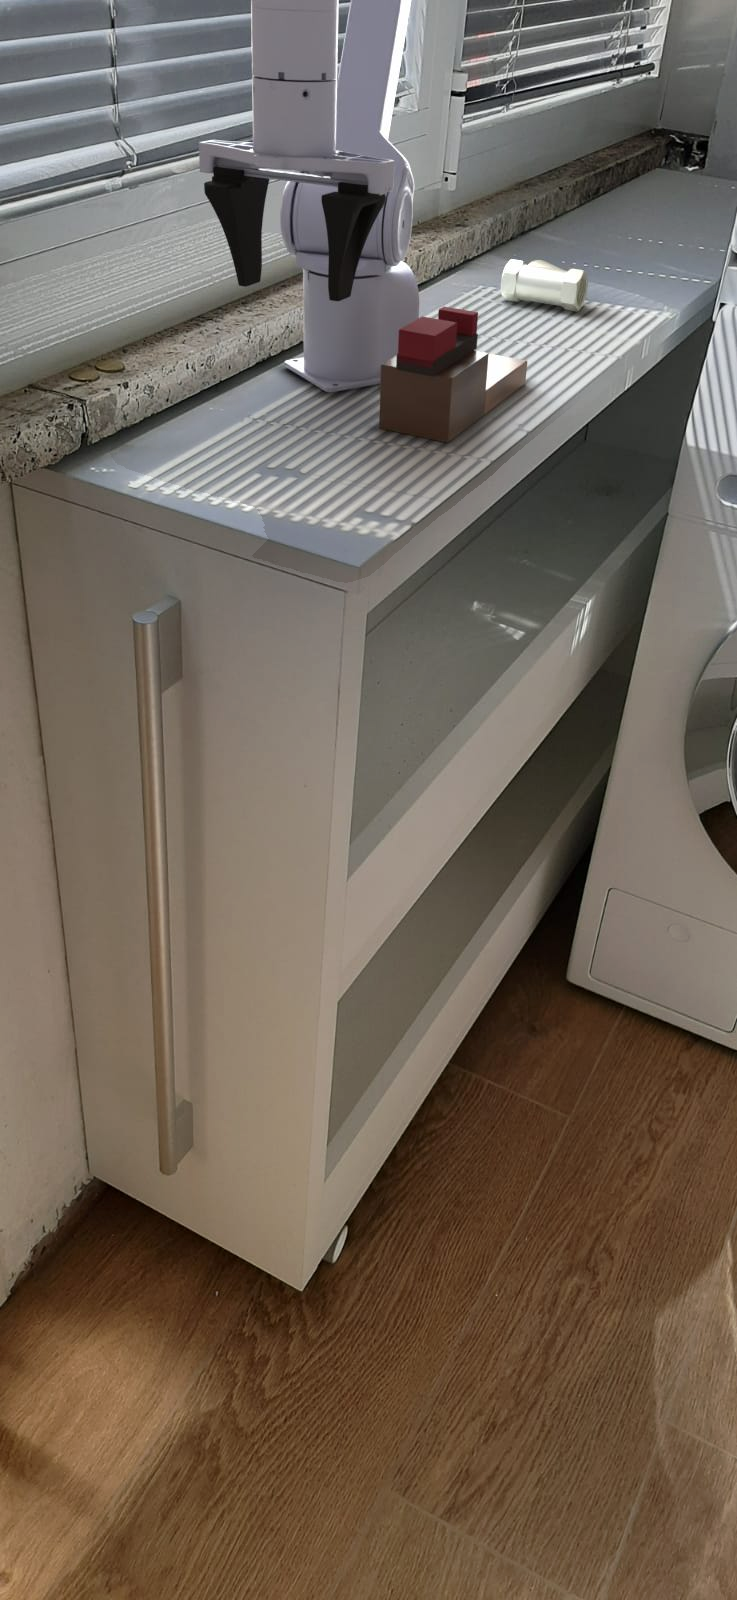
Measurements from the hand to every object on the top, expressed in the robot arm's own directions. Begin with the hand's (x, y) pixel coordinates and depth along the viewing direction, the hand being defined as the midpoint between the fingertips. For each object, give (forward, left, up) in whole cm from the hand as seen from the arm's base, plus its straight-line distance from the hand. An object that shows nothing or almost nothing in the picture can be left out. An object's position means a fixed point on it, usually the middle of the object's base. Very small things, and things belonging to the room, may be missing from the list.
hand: (294, 291), depth 92 cm
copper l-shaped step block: (-14, +1, -10) cm, 18 cm away
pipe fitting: (-40, -20, -11) cm, 46 cm away
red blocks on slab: (-11, +4, -5) cm, 12 cm away
